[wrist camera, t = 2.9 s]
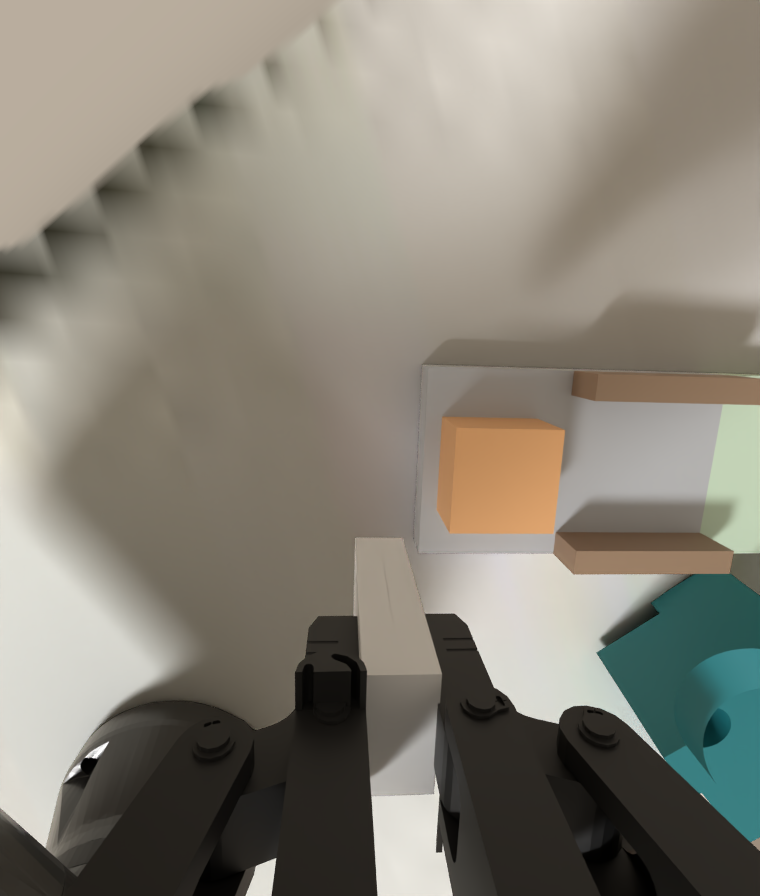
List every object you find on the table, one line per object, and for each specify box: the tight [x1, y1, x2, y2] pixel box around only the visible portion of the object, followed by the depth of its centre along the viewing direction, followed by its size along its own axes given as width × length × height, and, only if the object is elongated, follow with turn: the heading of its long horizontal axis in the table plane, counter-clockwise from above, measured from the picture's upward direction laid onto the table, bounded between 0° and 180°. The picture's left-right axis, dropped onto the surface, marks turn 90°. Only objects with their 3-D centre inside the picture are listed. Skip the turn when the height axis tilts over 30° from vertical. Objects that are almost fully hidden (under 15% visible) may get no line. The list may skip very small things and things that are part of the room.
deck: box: [413, 364, 760, 574], centre depth 32 cm, size 34×12×6 cm, turn 88°
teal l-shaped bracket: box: [597, 574, 760, 842], centre depth 34 cm, size 18×11×10 cm, turn 38°
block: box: [437, 417, 565, 534], centre depth 29 cm, size 6×6×4 cm
